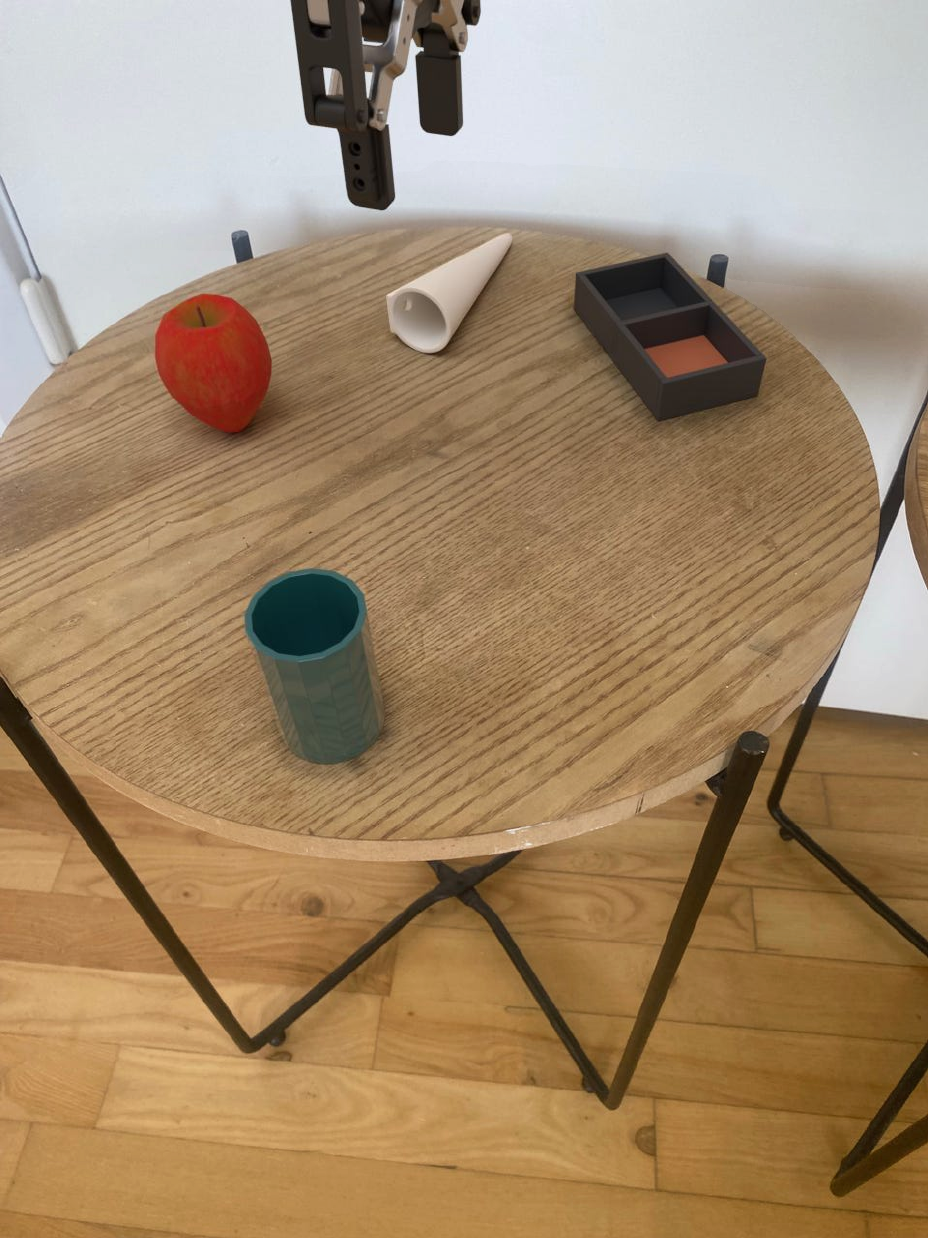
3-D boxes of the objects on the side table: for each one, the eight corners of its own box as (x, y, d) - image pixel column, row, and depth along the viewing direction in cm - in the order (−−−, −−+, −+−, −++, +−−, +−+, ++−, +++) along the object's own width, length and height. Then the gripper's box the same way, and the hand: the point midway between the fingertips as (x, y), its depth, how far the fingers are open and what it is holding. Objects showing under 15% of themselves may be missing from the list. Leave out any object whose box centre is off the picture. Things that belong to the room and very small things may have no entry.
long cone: (561, 274, 92) (452, 359, 81) (504, 264, 95) (391, 345, 83) (561, 213, 88) (447, 293, 77) (502, 204, 91) (383, 281, 80)
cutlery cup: (396, 684, 60) (379, 576, 52) (369, 772, 56) (347, 669, 48) (298, 670, 61) (267, 562, 53) (265, 755, 57) (227, 652, 49)
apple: (188, 393, 79) (151, 274, 71) (290, 389, 79) (264, 269, 71) (171, 461, 74) (128, 341, 66) (280, 457, 74) (250, 335, 66)
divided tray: (757, 396, 76) (767, 357, 74) (658, 421, 75) (663, 383, 72) (662, 288, 87) (667, 251, 84) (573, 309, 85) (575, 272, 83)
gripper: (383, -231, 31) (420, 247, 43) (532, -298, 39) (526, 118, 51) (185, -237, 33) (274, 221, 45) (367, -299, 41) (400, 101, 53)
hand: (409, 166), depth 48 cm, fingers open, 8 cm apart
